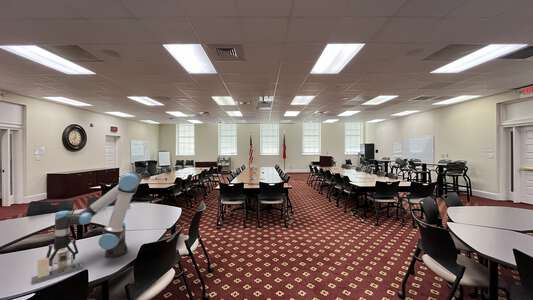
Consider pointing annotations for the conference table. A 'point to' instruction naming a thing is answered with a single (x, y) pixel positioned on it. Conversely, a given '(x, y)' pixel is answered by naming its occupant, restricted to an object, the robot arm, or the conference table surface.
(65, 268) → the rail
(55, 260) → the container
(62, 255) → the tan box
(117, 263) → the conference table surface
